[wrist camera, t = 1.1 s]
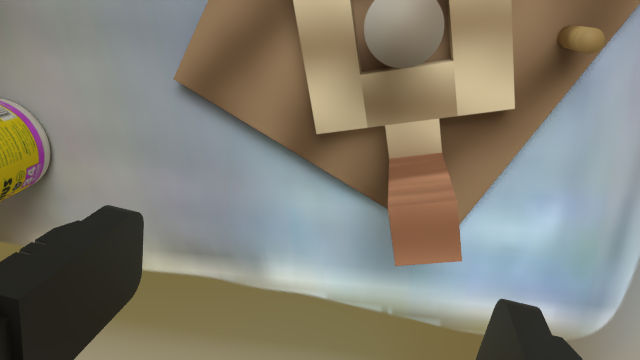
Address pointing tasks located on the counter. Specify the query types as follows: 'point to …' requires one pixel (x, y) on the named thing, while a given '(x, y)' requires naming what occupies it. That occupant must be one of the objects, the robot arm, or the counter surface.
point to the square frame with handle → (410, 108)
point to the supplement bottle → (20, 149)
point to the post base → (360, 157)
